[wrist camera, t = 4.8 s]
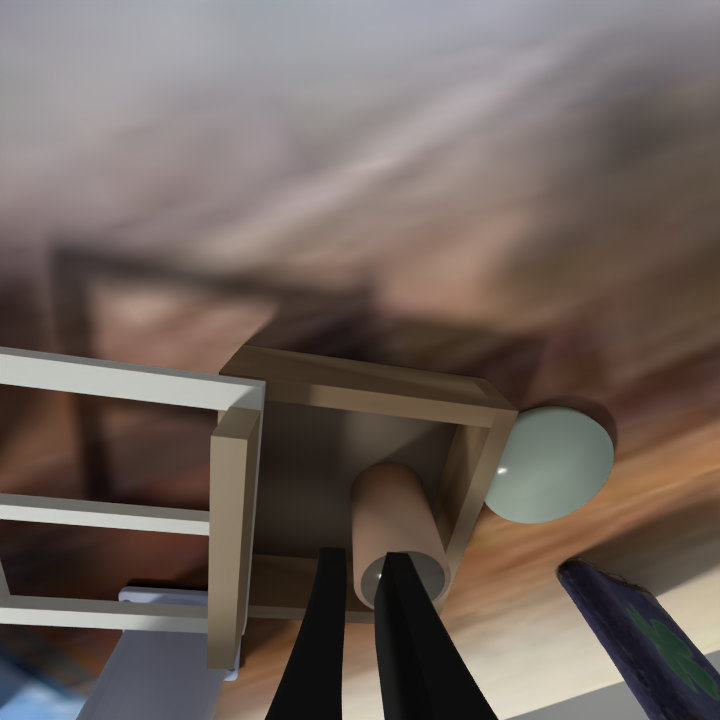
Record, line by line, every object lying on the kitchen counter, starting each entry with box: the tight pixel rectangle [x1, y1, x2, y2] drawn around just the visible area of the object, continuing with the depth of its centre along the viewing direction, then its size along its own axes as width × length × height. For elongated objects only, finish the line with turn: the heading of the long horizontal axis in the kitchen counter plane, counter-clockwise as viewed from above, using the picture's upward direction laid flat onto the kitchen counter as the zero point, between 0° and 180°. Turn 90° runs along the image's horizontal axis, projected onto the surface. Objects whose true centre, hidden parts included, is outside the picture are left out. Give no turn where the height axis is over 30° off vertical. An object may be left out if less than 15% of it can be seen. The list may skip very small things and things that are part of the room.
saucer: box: [484, 406, 614, 523], centre depth 20 cm, size 8×8×1 cm
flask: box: [555, 558, 720, 720], centre depth 20 cm, size 9×3×11 cm, turn 59°
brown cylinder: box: [351, 462, 451, 609], centre depth 17 cm, size 4×4×6 cm
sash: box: [0, 346, 266, 669], centre depth 14 cm, size 15×13×3 cm
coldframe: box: [218, 345, 519, 624], centre depth 18 cm, size 15×13×4 cm
